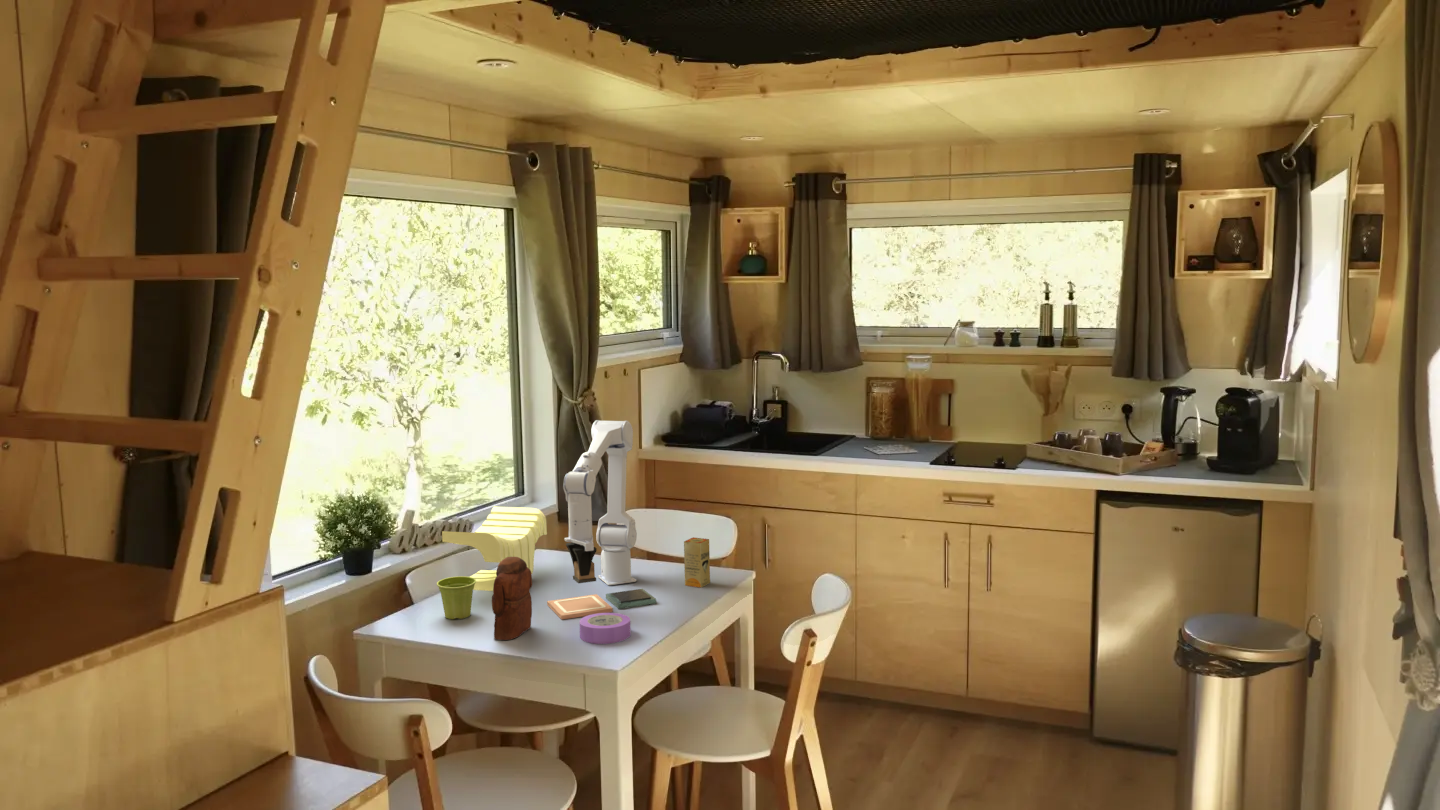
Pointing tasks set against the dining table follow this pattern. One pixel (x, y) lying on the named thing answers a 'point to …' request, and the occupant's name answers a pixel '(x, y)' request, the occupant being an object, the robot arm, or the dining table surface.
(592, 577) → the walnut stamp
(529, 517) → the slatted curved stool
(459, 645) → the dining table surface
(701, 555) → the shoe polish box
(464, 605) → the plant pot
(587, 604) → the marked board
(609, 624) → the masking tape
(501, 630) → the wooden figurine
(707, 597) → the dining table surface
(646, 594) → the ink pad
